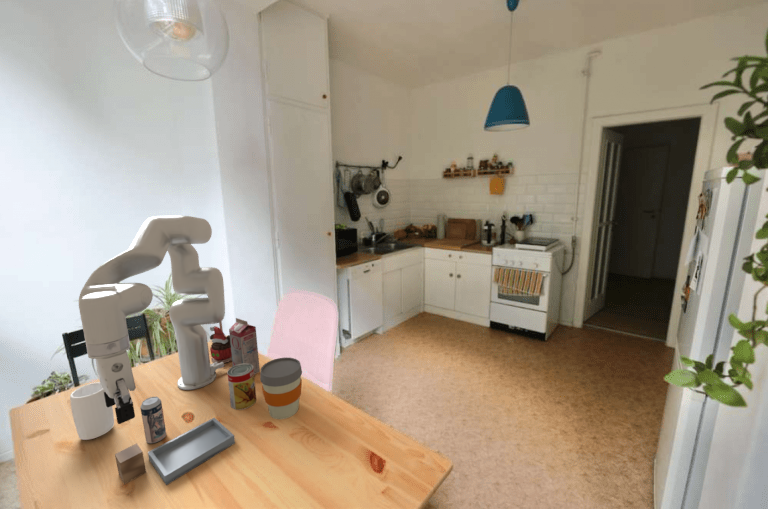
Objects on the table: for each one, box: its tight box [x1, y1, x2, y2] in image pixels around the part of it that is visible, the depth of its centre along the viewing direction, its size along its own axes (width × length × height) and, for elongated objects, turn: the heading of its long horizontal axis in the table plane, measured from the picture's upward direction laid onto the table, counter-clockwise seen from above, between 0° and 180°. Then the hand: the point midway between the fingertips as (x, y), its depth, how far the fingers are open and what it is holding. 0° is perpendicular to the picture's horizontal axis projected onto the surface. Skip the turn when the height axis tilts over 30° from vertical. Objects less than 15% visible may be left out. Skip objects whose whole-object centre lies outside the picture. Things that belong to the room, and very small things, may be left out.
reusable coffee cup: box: [259, 357, 303, 420], centre depth 105 cm, size 12×13×15 cm
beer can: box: [140, 396, 167, 444], centre depth 93 cm, size 5×5×12 cm
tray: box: [147, 417, 236, 486], centre depth 89 cm, size 17×12×2 cm
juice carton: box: [228, 317, 261, 376], centre depth 126 cm, size 7×7×22 cm
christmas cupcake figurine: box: [209, 320, 232, 364], centre depth 137 cm, size 11×9×18 cm
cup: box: [69, 381, 115, 441], centre depth 95 cm, size 8×8×14 cm
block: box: [114, 443, 147, 485], centre depth 82 cm, size 4×4×6 cm
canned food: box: [226, 363, 257, 411], centre depth 109 cm, size 8×8×12 cm
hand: (120, 412), depth 79 cm, fingers open, 9 cm apart
